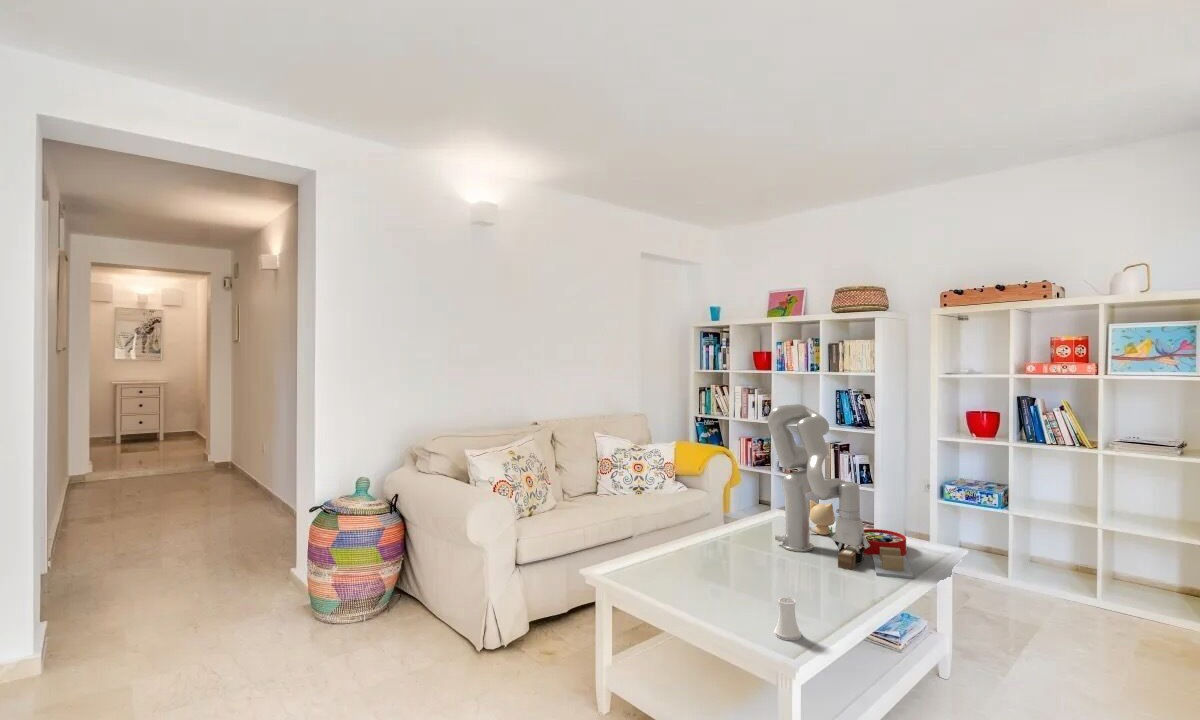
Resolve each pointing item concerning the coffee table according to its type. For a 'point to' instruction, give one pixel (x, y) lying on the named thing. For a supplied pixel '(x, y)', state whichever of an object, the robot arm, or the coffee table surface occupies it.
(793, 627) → the white flared vase
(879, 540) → the toy clock
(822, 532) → the kitten
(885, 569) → the wall board
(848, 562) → the wooden block
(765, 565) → the coffee table surface
